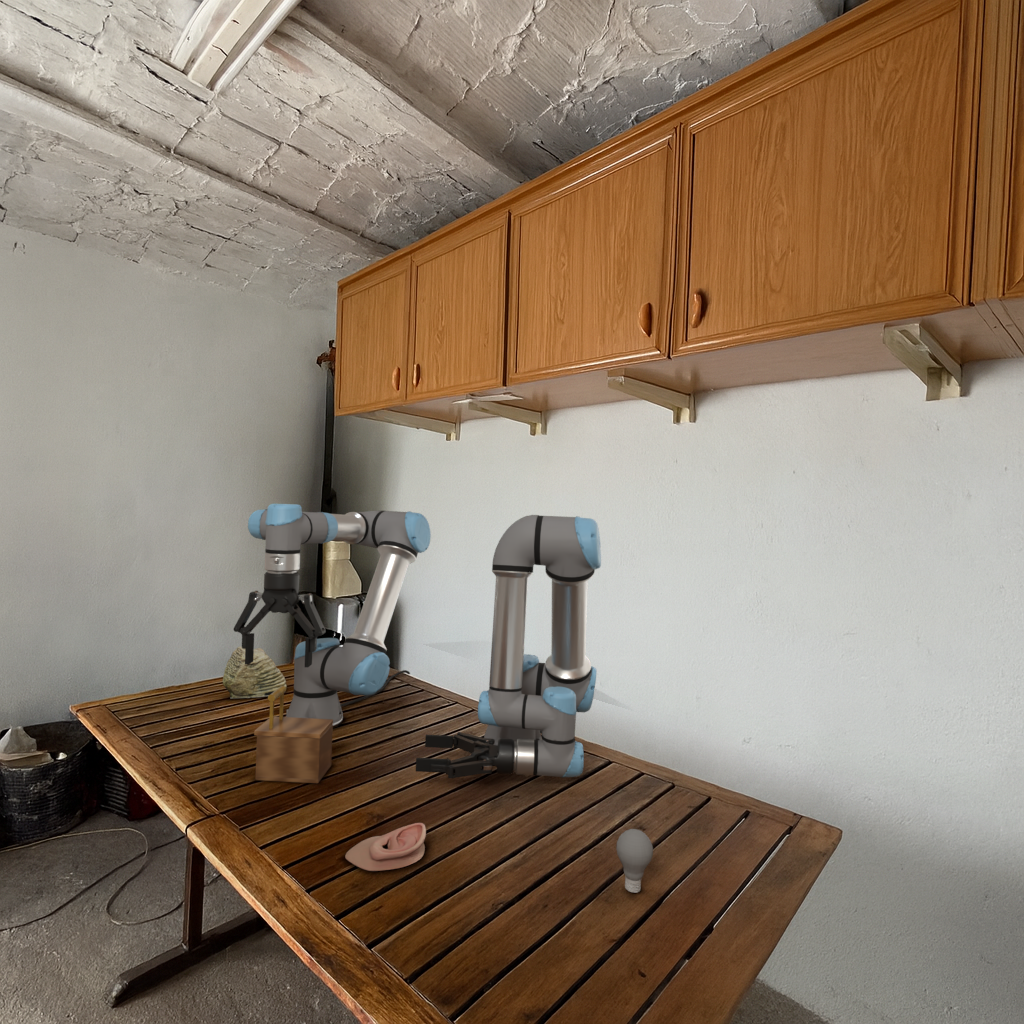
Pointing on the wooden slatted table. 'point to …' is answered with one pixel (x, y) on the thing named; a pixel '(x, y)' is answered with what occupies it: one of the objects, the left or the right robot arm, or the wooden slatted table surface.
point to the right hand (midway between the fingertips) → (420, 752)
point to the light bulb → (634, 857)
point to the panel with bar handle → (291, 722)
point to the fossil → (252, 675)
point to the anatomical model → (390, 849)
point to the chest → (293, 758)
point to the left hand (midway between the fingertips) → (278, 664)
